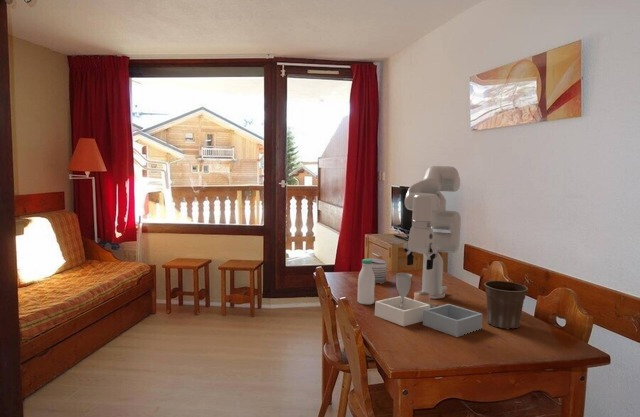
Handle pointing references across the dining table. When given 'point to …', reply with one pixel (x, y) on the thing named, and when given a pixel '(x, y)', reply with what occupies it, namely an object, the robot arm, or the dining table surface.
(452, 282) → the dining table surface
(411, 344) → the dining table surface
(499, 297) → the plant pot
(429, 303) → the walnut block
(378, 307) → the frame
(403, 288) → the chalice
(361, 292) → the milk bottle
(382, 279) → the can
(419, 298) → the terracotta pot
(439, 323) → the frame
